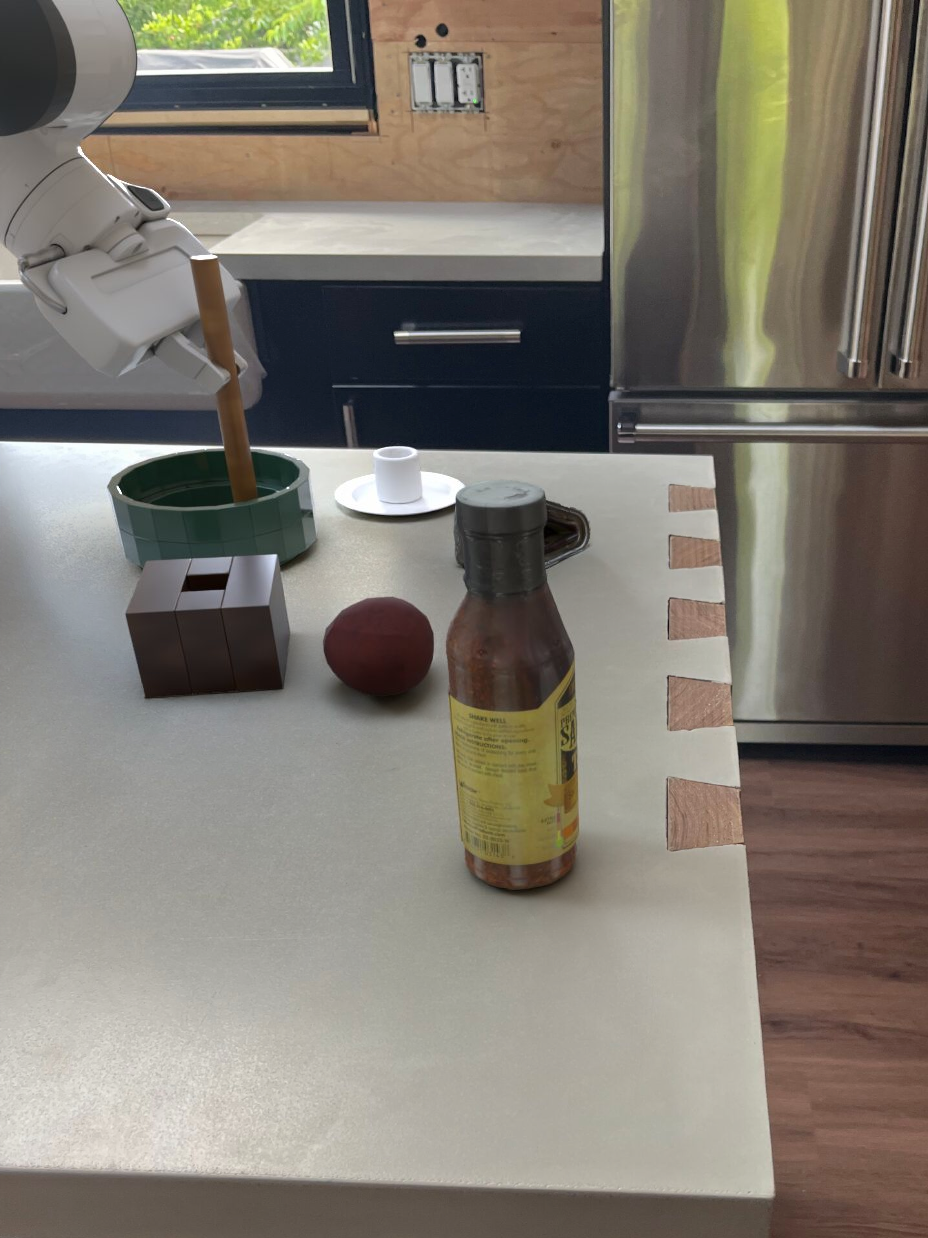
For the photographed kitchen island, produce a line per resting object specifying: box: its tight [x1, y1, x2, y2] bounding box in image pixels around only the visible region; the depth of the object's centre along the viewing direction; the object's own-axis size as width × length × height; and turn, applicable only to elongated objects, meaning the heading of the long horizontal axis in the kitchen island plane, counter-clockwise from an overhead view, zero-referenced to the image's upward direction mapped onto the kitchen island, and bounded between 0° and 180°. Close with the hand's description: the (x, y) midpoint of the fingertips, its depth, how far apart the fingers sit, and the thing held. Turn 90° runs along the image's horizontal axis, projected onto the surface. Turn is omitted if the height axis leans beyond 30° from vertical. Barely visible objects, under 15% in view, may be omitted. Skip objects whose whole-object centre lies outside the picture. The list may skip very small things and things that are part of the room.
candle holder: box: [334, 445, 466, 516], centre depth 108 cm, size 12×12×4 cm
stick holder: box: [124, 554, 291, 699], centre depth 80 cm, size 9×9×6 cm
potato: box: [322, 596, 435, 697], centre depth 77 cm, size 7×8×6 cm
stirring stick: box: [189, 254, 259, 503], centre depth 92 cm, size 2×2×20 cm
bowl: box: [106, 447, 318, 569], centre depth 97 cm, size 16×16×6 cm
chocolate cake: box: [453, 499, 591, 569], centre depth 97 cm, size 10×7×12 cm
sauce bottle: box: [445, 479, 580, 891], centre depth 58 cm, size 6×6×20 cm
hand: (232, 381), depth 92 cm, fingers closed on stirring stick, 2 cm apart
